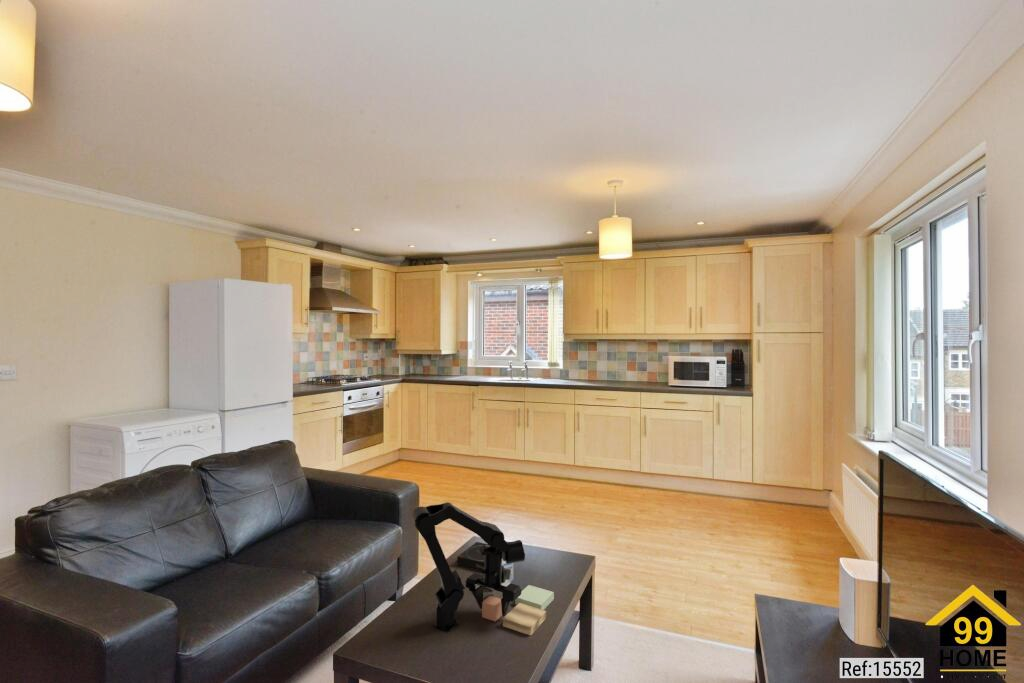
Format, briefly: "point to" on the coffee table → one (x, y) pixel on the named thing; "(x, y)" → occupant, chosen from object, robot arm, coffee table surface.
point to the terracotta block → (491, 608)
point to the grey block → (499, 594)
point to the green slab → (535, 597)
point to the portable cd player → (472, 557)
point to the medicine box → (508, 566)
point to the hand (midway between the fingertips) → (492, 612)
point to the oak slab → (524, 618)
